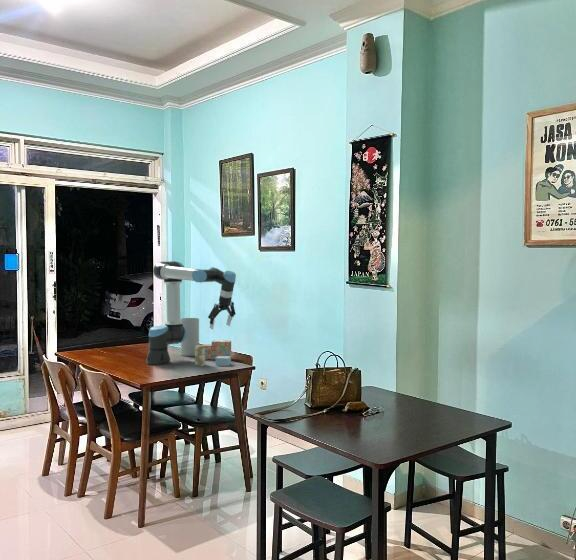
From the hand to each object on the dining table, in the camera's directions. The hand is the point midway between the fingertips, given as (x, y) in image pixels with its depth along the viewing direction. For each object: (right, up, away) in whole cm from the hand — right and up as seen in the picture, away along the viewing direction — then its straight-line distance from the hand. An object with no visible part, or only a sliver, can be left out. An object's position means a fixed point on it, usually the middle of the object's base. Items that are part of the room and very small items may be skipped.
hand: (219, 326), depth 361 cm
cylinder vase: (-25, -23, +40) cm, 52 cm away
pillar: (-13, -24, +2) cm, 27 cm away
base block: (+2, -24, +3) cm, 25 cm away
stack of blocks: (-6, -24, +24) cm, 34 cm away
